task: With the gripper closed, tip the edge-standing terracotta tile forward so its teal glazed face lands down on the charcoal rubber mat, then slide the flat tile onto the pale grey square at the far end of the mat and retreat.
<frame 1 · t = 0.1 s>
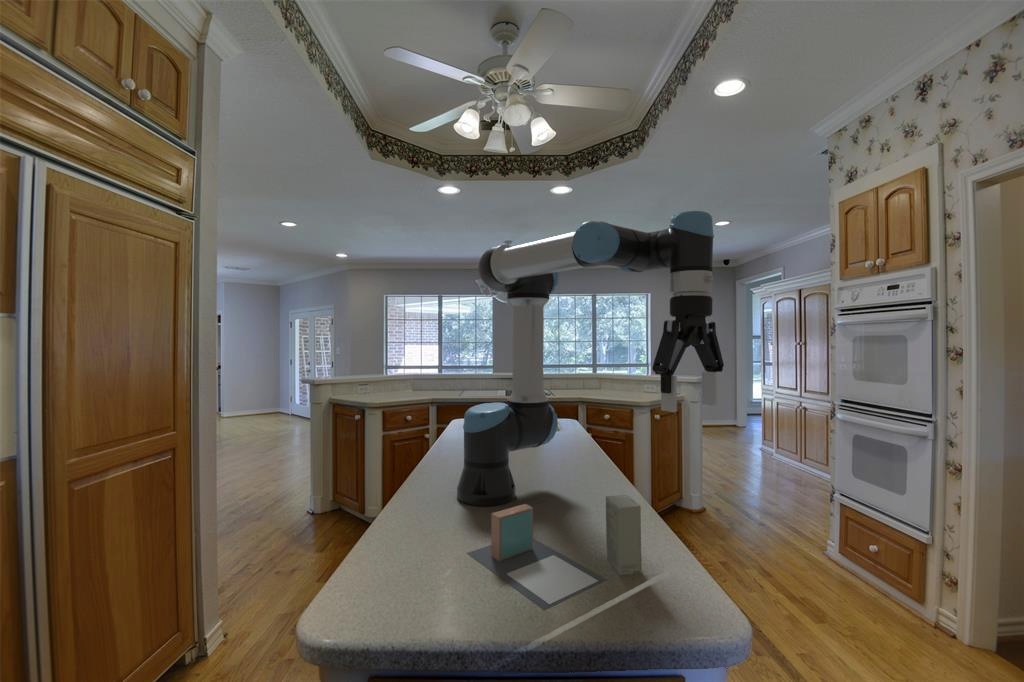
hand: (689, 407, 86), 28 cm above the counter, fingers open, 13 cm apart
tile: (516, 555, 84), point 1 cm above the counter, touching mat
mat: (532, 568, 81), on the counter
skincare box: (622, 569, 81), on the counter
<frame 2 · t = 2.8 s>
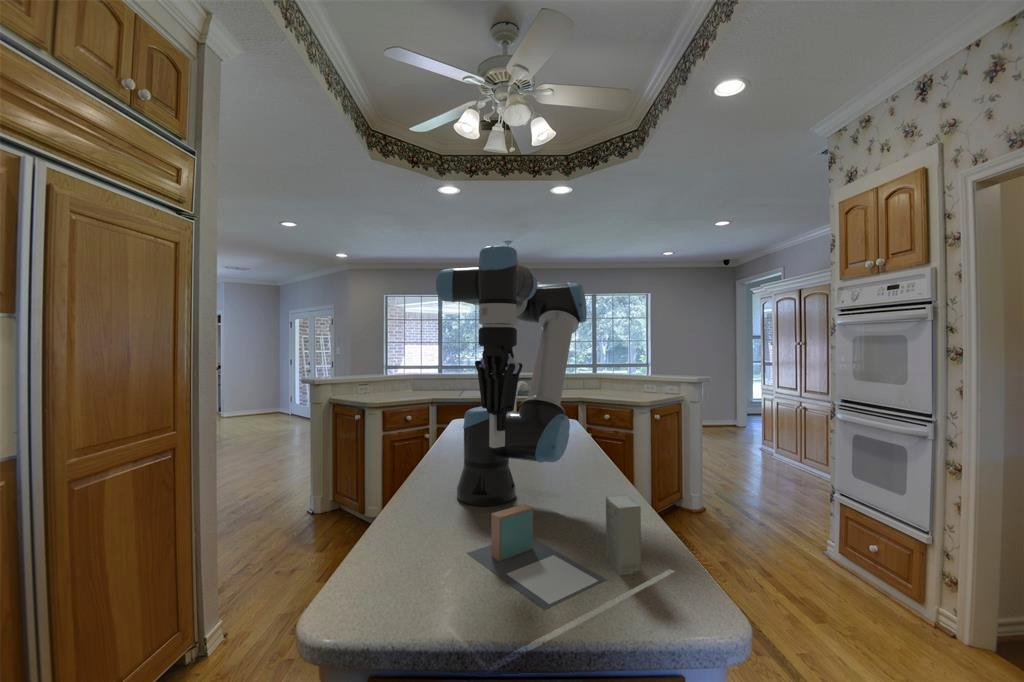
hand: (497, 446, 89), 20 cm above the counter, fingers closed
nothing on the counter moved.
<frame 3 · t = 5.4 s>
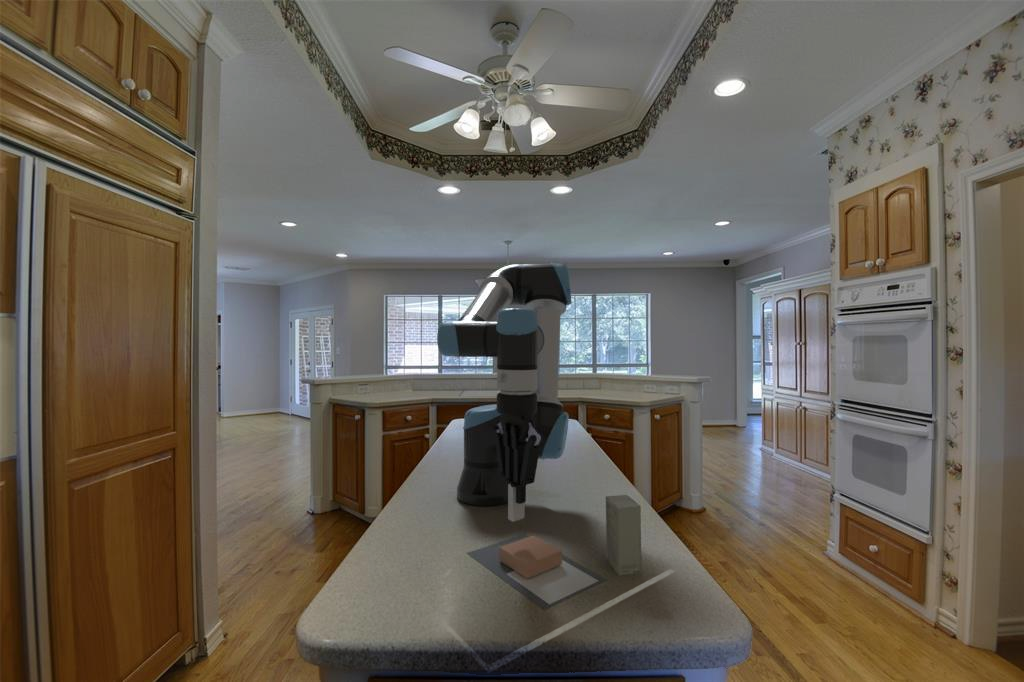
hand: (516, 518, 84), 8 cm above the counter, fingers closed
tile: (516, 554, 84), point 1 cm above the counter, tilted 89°, touching mat
everything else where it was.
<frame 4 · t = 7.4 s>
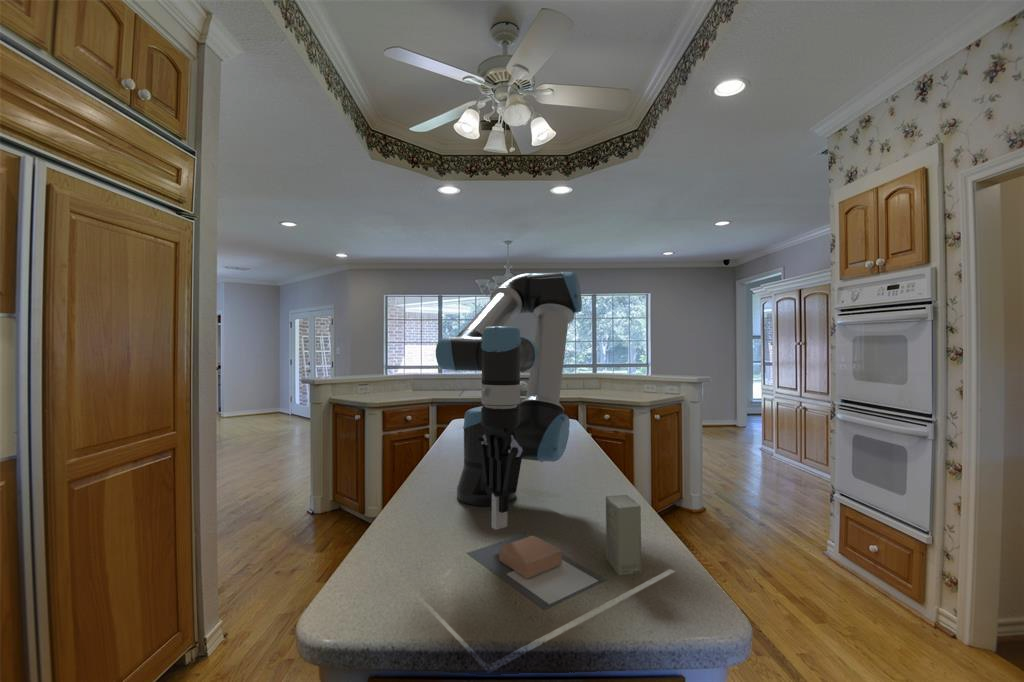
hand: (499, 526, 88), 4 cm above the counter, fingers closed
nothing on the counter moved.
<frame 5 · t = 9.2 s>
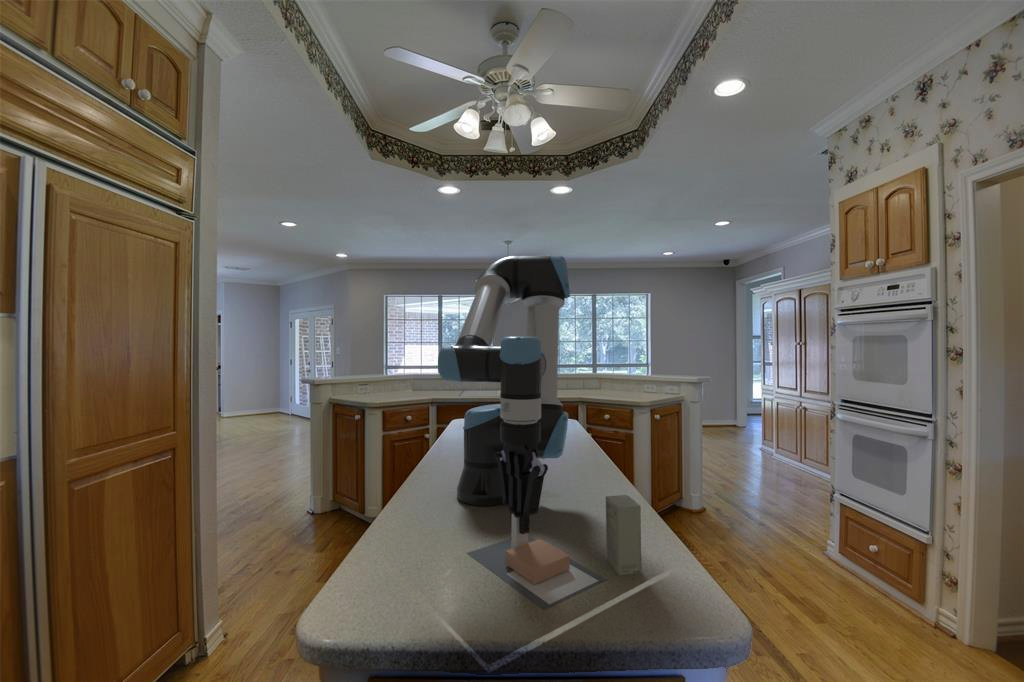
hand: (519, 548, 83), 2 cm above the counter, fingers closed
tile: (523, 557, 83), point 1 cm above the counter, tilted 90°, touching gripper, mat
everything else where it was.
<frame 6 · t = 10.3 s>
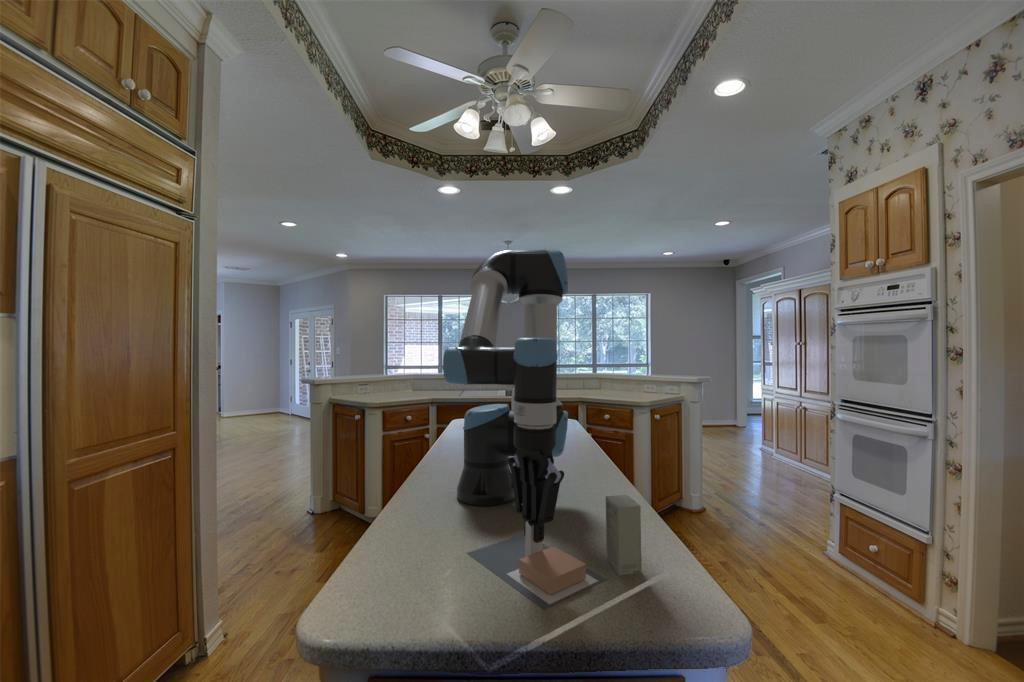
hand: (533, 557, 80), 2 cm above the counter, fingers closed
tile: (536, 566, 80), point 1 cm above the counter, tilted 90°, touching gripper, mat
everything else where it was.
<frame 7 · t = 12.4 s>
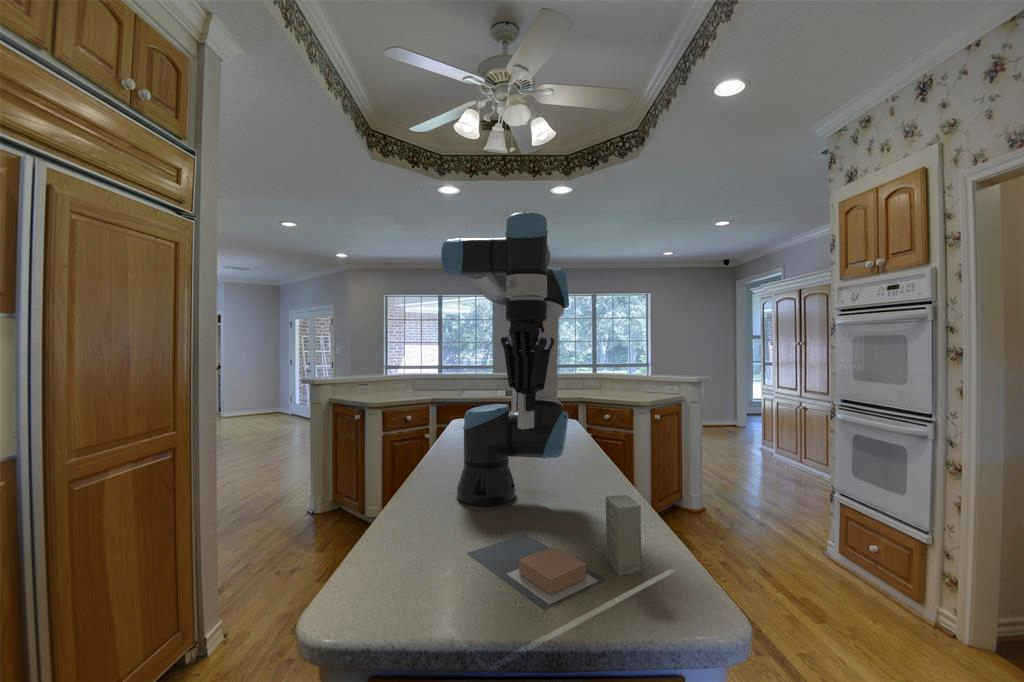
hand: (525, 427, 83), 25 cm above the counter, fingers closed
tile: (536, 566, 80), point 1 cm above the counter, tilted 90°, touching mat
everything else where it was.
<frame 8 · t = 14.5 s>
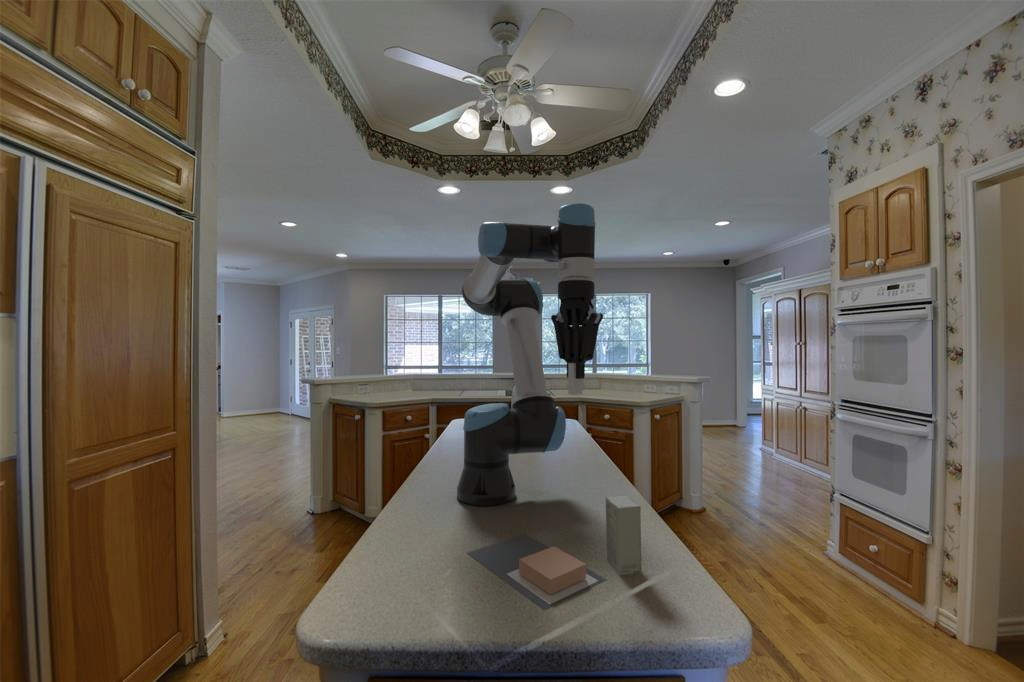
hand: (575, 394, 94), 29 cm above the counter, fingers closed
nothing on the counter moved.
at the end: tile tilted 90°; tile point 0.9 cm above the counter; tile inside the target area (0.5 cm from its centre), point 0.9 cm above the counter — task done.
